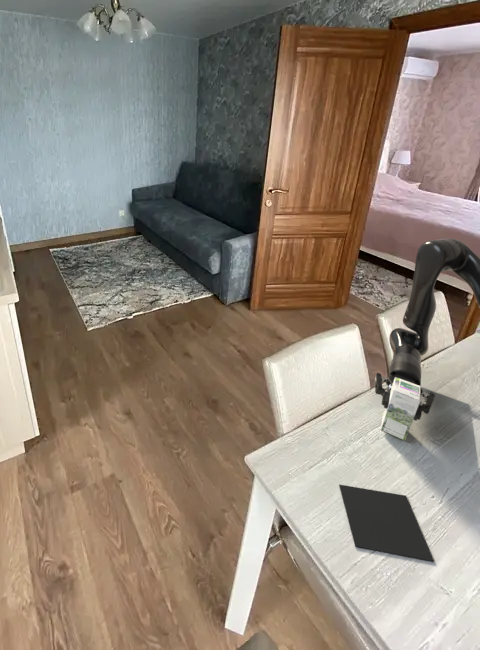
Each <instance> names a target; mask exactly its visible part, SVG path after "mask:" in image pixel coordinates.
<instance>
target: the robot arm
mask: <svg viewBox="0 0 480 650" xmlns="http://www.w3.org/2000/svg"><path fill="white" fill-rule="evenodd" d="M449 271H450V272H452V273H454V274H455V275H456V276H458V277H459V278H460V279H461V280H462V281H463V282H464V283H466V284H467V285H468V287H469V288H470V289H471V291H472V293H473V296H474V298H475V301H476V304H477V305H478V308H479V309H480V257H479V256H478V255H477V254H476V253H475V252H474V251H473V250H472V249H471V248H470V247H469V246H468V245H467V244H466V243H464V242H462V241H461V240H459V239H456V238H450V237H449V238H447V237H445V238H439V239H431V240H428V241H427V240H426V241H424V242H423V243H422V244H420V246H419V247H418V250H417V252H416V255H415V264H414V271H413V277H412V278H413V279H412V287H411V292H410V297H409V300H408V303H407V306H406V309H405V313H404V315H403V316H402V317H403V318H402V322H403V325H404V326H405V327H406V328H408V329H409V330H408V329H405V328H401V327H397V328H394V329H393V330H392V331H391V332H390V334H389V345H390V348H391V351H392V359H391V361H390V365H389V371H388V376H387V377H385V376H382V374H381V373H379V372H376V374H375V377H374V392H375V394H377V395H380V396H381V397H382V398H381V405H382V406H383V408H384V409H385V408H386V409H387V407H388V404H389V398H390V392H391V388H392V385H393V382H394V379H395V377H397V378H400V379H402V380H405V381H408V382H411V383H413V384H416V385H419V386H421V387H422V384H421V383H422V365H421V364H422V357H423V356H425V355H426V354H427V353H428V352H429V332H430V331H429V330H430V327H431V323H432V321H433V318H434V317H435V313H436V311H437V300H436V296H435V285H436V282H437V280H438V278H439V276H440V275H441V273H442V272H443V273H444V272H449ZM384 383H385V384H386V386H387V387H386V388H384V387H383V384H384ZM420 397H422V398H423V401H421V399H420V403H419V406H418V409H417V411H416V414H415V416H414V419H413V421H417V420H418V421H419V420H420V419H421V417H422V415H423V414H422V413H424V414H426V415H429V413H430V410H431V408H432V406H433V403H434V400H435V398H436V394H435V393H433V392H429V393H428V392H426V391H423V388H421V389H420ZM423 402H424V403H423Z"/></svg>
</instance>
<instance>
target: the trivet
mask: <svg viewBox="0 0 480 650" xmlns="http://www.w3.org/2000/svg"><path fill="white" fill-rule="evenodd" d="M338 486H339V490H340V495H341V498H342V501H343V505H344V509H345V513H346V517H347V521H348V524H349V528H350V532H351V536H352V539H353V543H354V547H355V548H359V549H364V550H368V551H375V552H380V553H385V554H391V555H395V556H401V557H406V558H412V559H417V560H422V561H427V562H432V563H433V562H435V560H434V558H433V555H432V552H431V550H430V548H429V546H428V543H427V541H426V539H425V537H424V534H423V532H422V530H421V527H420V524H419V522H418V519H417V517H416V515H415V513H414V511H413V509H412V506H411V503H410V501H409V498H408V497H407V495H405V494H400V493H399V494H398V493H392V492H386V491H381V490H376V489H369V488H364V487H363V488H362V487H357V486H352V485H346V484H339V485H338Z"/></svg>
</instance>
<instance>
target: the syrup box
mask: <svg viewBox="0 0 480 650" xmlns="http://www.w3.org/2000/svg"><path fill="white" fill-rule="evenodd" d="M420 389H422V385H421V386H419V385H416V384H413V383H411V382H408V381H405V380H402V379H400V378H397V377H395V379H394V382H393V385H392V388H391V392H390V398H389V404H388V407H387V409H386V408H384V410H383V413H382V417H381V418H382V419H381V425H380V431H381V432H383V433H386V434H388V435H391V436H393V437H395V438H397V439H399V440H402V441H404V442H405V441H406V440H407V438H408V435H409V433H410V432H409V431H410V429H411V427H412V424H413V421H414V420H413V419H414V416H415V414H416V411H417V409H418V406H419V403H420V400H421V396H420Z"/></svg>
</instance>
